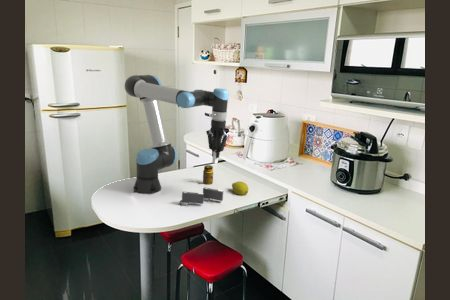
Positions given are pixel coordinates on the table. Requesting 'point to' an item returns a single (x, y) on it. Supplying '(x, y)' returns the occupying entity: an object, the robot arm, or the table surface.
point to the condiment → (207, 175)
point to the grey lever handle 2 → (212, 194)
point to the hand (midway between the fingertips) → (215, 162)
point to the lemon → (240, 188)
